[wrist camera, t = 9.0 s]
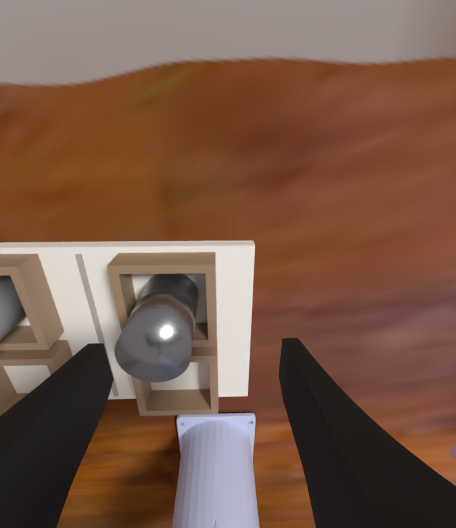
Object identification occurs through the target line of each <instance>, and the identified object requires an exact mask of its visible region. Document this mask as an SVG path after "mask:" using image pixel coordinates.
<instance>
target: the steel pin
mask: <svg viewBox="0 0 456 528" xmlns="http://www.w3.org/2000/svg"><path fill="white" fill-rule="evenodd" d="M198 300H199V292H198V288H197V286H196V284H195V283H194V282H193V281H192V280H191V279H190V278H189V277H188V276H186V275H184V274H182V273H178V274H156V275H154V276H153V277H151V278H150V279H149V281H148V282H147V284H146V286H145V288H144V290H143V291H142V293H141V295H140V297H139V299H138V301H137V303H136V305H135V307H134V309H133V311H132V313H131V315H130V317H129V319H128V321H127V323H126V324H125V326H124V328H123V330H122V332H121V334H120V336H119V338H118V340H117V342H116V345H115V349H114V354H115V358H116V361H117V363H118V364H119V366H120V367H121V368H122V369H123V370H124V371H125V372H126V373H127V374H129V375H131V376H132V377H134V378H137V379H139V380H143V381H147V382H165V381H169V380H172V379H175V378H177V377H179V376H180V375H181V374H183V373H184V372H185V371H186V369H187V368H188V366H189V364H190V361H191V353H192V346H193V338H194V330H195V323H196V315H197V308H198Z"/></svg>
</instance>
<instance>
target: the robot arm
mask: <svg viewBox="0 0 456 528" xmlns="http://www.w3.org/2000/svg"><path fill="white" fill-rule="evenodd" d="M279 379H280V385H281V390H282V396H283V401H284V404H285V408H286V411H287V415H288V418H289V421H290V425H291V428H292V432H293V435H294V438H295V442H296V445H297V448H298V452H299V455H300V459H301V462H302V466H303V470H304V474H305V478H306V482H307V487H308V492H309V496H310V501H311V506H312V511H313V516H314V521H315V526H316V528H456V486H455V485H453V484H452V483H451V482H449V481H448V480H446V479H445V478H444V477H442V476H441V475H440V474H438V473H437V472H436V471H434V470H433V469H432V468H430V467H429V466H428V465H426V464H425V463H424V462H423V461H421V460H420V459H419V458H418V457H416V456H415V455H414V454H413V453H411V452H410V451H409V450H407V449H406V448H405V447H404V446H402V445H401V444H400V443H399V442H397V441H396V440H395V439H394V438H393V437H392V436H390V435H389V434H388V433H387V432H386V431H385V430H383V429H382V428H381V427H380V426H379V425H378V424H377V423H376V422H375V421H373V420H372V419H371V418H370V417H369V416H368V415H367V414H366V413H365V412H364V411H363V410H362V409H361V408H360V407H359V406H358V405H357V404H356V403H355V402H354V401H353V400H352V399H351V398H350V397H349V396H348V395H347V394H346V393H345V392H344V391H343V390H342V389H341V388H340V387H339V386H338V385H337V384H336V383H335V382H334V380H333V379H332V378H331V377H330V376H329V375H328V374H327V373H326V372H325V370H324V369H323V368H322V367H321V366H320V365H319V363H318V362H317V361H316V360H315V359H314V357H313V356H312V355H311V354H310V352H309V351H308V350H307V349H306V347H305V346H304V345H303V344H302V342H301V341H300V340H299V339H298V338H283V339H282V348H281V358H280V367H279ZM113 381H114V378H113V375H112V371H111V368H110V364H109V360H108V357H107V353H106V350H105V346H104V343H89V344H87V345H86V346H85V347H83V348H82V349H81V350H80V351H79V352H77V353H76V354H75V355H74V356H73V357H72V358H70V359H69V360H68V361H67V362H66V363H65V364H63V365H62V366H61V367H60V368H59V369H58V370H56V371H55V372H54V373H53V374H52V375H50V376H49V377H48V378H47V379H46V380H44V381H43V382H42V383H41V384H40V385H39V386H37V387H36V388H35V389H34V390H32V391H31V392H30V393H29V394H27V395H26V396H25V397H23V398H22V399H21V400H20V401H18V402H17V403H16V404H15V405H13V406H12V407H11V408H10V409H8V410H7V411H6V412H4V413H3V414H2V415H0V528H56V527H57V524H58V521H59V518H60V515H61V512H62V509H63V507H64V504H65V501H66V498H67V495H68V492H69V490H70V487H71V484H72V482H73V479H74V477H75V474H76V472H77V470H78V467H79V465H80V463H81V461H82V458H83V456H84V454H85V452H86V449H87V447H88V445H89V443H90V441H91V438H92V436H93V434H94V432H95V429H96V427H97V425H98V423H99V420H100V418H101V416H102V413H103V411H104V409H105V406H106V404H107V400H108V397H109V394H110V391H111V388H112V384H113ZM255 420H256V418H255V414H253V413H223V414H201V415H178V416H177V420H176V422H177V429H178V437H179V445H180V452H181V459H180V467H179V475H178V483H177V491H176V499H175V507H174V515H173V523H172V528H259V520H258V510H257V500H256V490H255V480H254V471H253V448H254V434H255Z"/></svg>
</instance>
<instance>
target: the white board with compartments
mask: <svg viewBox="0 0 456 528" xmlns="http://www.w3.org/2000/svg"><path fill="white" fill-rule="evenodd" d="M254 254H255V244H254V241H129V242H5V243H0V415H2V414H3V413H4V412H6V411H7V410H8V409H10V408H11V407H12V406H13V405H15V404H16V403H17V402H18V401H20V400H21V399H22V398H23V397H25V396H26V395H27V394H29V393H30V392H31V391H32V390H34V389H35V388H36V387H37V386H39V385H40V384H41V383H42V382H43V381H44V380H46V379H47V378H48V377H49V376H50V375H52V374H53V373H54V372H55V371H56V370H58V369H59V368H60V367H61V366H62V365H63V364H65V363H66V362H67V361H68V360H69V359H70V358H72V357H73V356H74V355H75V354H76V353H77V352H79V351H80V350H81V349H82V348H83V347H85V346H86V345H87V344H89V343H104V346H105V350H106V353H107V357H108V360H109V364H110V368H111V371H112V375H113V378H114V381H113V384H112V388H111V391H110V394H109V397H108V399H137V404H138V409H139V413H140V416H161V415H201V414H218V397H228V396H248V376H249V356H250V335H251V315H252V295H253V274H254ZM178 273H182V274H184V275H186V276H188V277H189V278H190V279H191V280H192V281H193V282H194V283H195V284H196V286H197V288H198V292H199V300H198V308H197V315H196V323H195V330H194V338H193V346H192V353H191V361H190V364H189V366H188V368H187V369H186V371H185V372H184V373H183V374H181V375H180V376H179V377H177V378H175V379H172V380H169V381H165V382H147V381H143V380H139V379H137V378H134V377H132V376H131V375H129V374H127V373H126V372H125V371H124V370H123V369H122V368H121V367H120V366H119V364H118V363H117V361H116V358H115V354H114V349H115V345H116V342H117V340H118V338H119V336H120V334H121V332H122V330H123V328H124V326H125V324H126V323H127V321H128V319H129V317H130V315H131V313H132V311H133V309H134V307H135V305H136V303H137V301H138V299H139V297H140V295H141V293H142V291H143V290H144V288H145V286H146V284H147V282H148V281H149V279H150V278H151V277H153V276H154V275H156V274H178Z"/></svg>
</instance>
